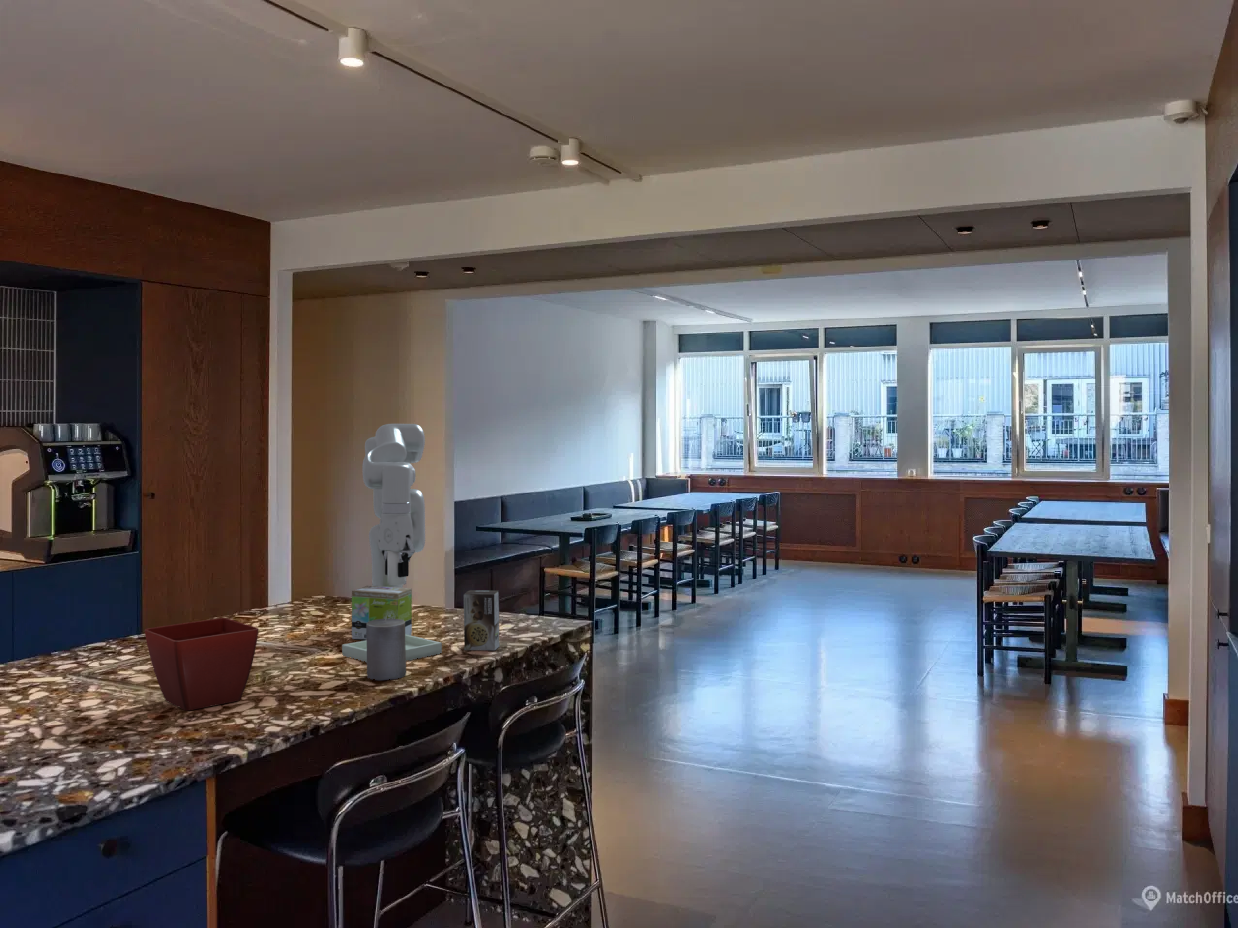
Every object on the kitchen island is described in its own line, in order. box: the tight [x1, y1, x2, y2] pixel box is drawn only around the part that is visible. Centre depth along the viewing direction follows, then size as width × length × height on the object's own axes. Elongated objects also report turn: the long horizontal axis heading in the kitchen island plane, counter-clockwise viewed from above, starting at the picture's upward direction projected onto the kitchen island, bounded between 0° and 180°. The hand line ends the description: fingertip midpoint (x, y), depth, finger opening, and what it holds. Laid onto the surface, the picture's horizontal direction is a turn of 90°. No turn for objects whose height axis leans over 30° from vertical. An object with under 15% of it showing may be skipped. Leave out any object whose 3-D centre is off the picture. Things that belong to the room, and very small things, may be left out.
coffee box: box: [463, 589, 500, 651], centre depth 288 cm, size 9×6×16 cm
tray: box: [341, 634, 443, 663], centre depth 279 cm, size 18×20×3 cm
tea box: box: [351, 585, 413, 641], centre depth 300 cm, size 15×10×15 cm, turn 76°
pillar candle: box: [366, 617, 407, 681], centre depth 256 cm, size 10×10×15 cm
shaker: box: [387, 548, 407, 586], centre depth 277 cm, size 5×5×12 cm
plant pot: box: [144, 617, 259, 711], centre depth 232 cm, size 19×19×17 cm
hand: (396, 574), depth 277 cm, fingers closed on shaker, 5 cm apart
